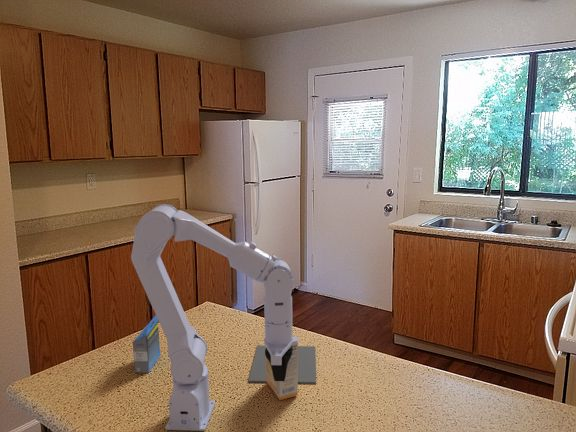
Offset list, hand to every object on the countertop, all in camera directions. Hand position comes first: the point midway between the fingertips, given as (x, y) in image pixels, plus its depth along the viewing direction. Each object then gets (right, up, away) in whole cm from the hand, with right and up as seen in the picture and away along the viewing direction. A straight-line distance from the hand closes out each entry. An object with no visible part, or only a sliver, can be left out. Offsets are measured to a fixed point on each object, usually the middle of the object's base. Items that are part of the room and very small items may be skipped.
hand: (279, 380), depth 91 cm
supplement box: (0, -5, +8) cm, 9 cm away
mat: (+1, -3, +20) cm, 20 cm away
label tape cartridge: (-34, -4, +20) cm, 40 cm away
